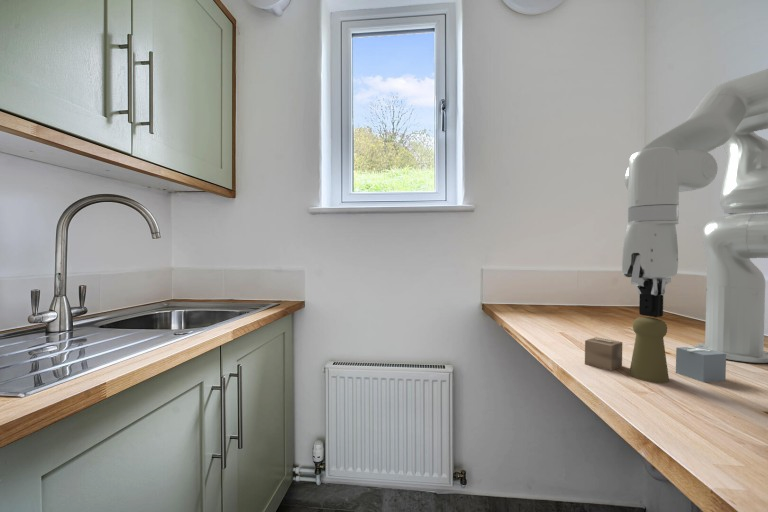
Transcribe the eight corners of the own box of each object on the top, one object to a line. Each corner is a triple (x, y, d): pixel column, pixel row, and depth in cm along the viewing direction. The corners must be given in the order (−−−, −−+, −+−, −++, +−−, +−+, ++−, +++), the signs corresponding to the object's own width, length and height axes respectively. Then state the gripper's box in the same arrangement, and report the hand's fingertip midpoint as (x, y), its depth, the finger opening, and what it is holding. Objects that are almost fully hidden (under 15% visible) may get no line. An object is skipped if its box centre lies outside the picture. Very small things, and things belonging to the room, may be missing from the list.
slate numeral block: (696, 371, 71) (697, 345, 71) (725, 381, 66) (726, 352, 66) (674, 373, 70) (675, 346, 70) (702, 382, 65) (702, 353, 65)
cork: (676, 383, 64) (678, 321, 64) (638, 381, 65) (639, 320, 65) (658, 372, 70) (659, 315, 70) (623, 370, 71) (624, 314, 71)
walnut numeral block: (595, 360, 78) (596, 336, 78) (621, 366, 74) (622, 341, 74) (584, 364, 75) (585, 339, 75) (611, 371, 71) (611, 344, 71)
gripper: (653, 219, 74) (651, 309, 74) (606, 217, 67) (605, 315, 68) (697, 216, 67) (696, 315, 67) (651, 213, 60) (650, 323, 61)
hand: (651, 315), depth 67 cm, fingers closed
